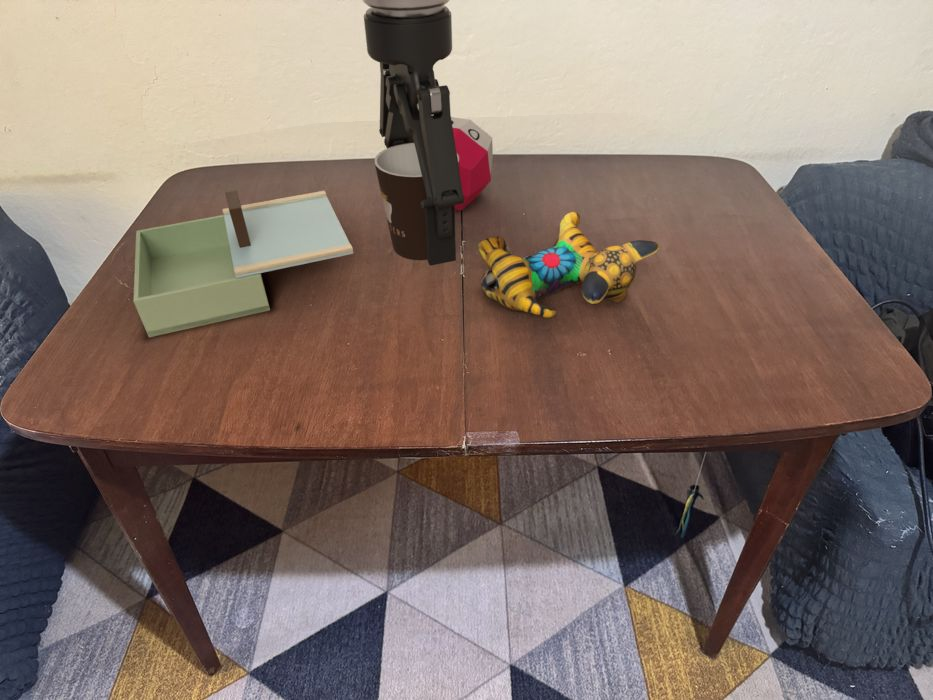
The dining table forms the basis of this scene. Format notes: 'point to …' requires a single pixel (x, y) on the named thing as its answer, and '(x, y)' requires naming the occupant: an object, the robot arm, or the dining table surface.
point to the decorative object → (472, 158)
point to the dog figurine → (560, 269)
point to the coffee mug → (403, 199)
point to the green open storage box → (191, 278)
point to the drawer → (282, 232)
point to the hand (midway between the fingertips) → (421, 232)
